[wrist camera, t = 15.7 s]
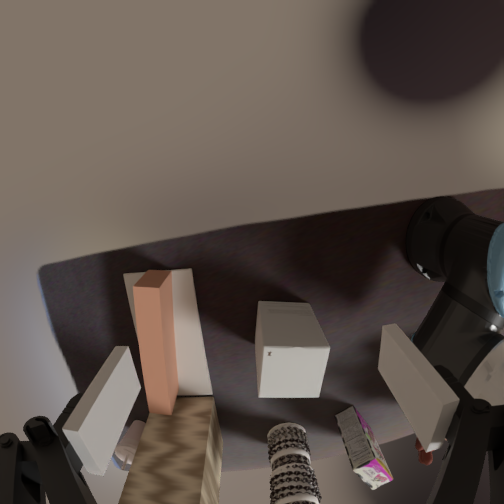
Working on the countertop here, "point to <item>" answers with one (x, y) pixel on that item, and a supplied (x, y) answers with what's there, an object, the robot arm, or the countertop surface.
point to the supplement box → (289, 350)
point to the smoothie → (130, 442)
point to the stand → (177, 457)
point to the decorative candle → (291, 466)
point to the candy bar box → (363, 449)
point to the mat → (182, 332)
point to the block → (157, 339)
